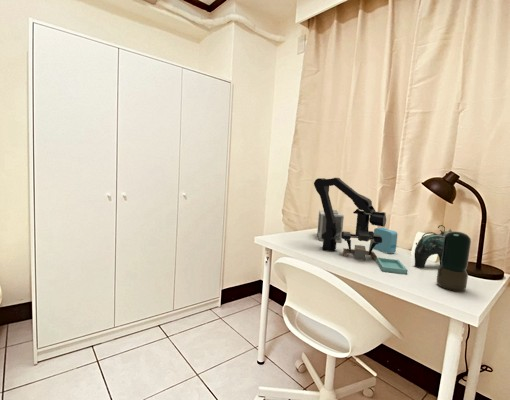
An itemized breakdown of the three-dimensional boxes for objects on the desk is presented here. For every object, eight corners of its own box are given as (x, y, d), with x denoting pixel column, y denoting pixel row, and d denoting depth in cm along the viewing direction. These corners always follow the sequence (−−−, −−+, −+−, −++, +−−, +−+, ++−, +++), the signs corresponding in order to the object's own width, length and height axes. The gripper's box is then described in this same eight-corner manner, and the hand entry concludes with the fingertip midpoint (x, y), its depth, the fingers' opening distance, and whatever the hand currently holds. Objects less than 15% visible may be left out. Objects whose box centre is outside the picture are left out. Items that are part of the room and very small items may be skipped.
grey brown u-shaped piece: (344, 256, 142) (344, 253, 142) (343, 251, 150) (343, 248, 150) (376, 260, 139) (376, 256, 138) (373, 255, 147) (373, 251, 147)
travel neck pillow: (445, 264, 139) (450, 224, 137) (457, 268, 133) (463, 227, 130) (410, 265, 135) (415, 223, 132) (421, 270, 128) (426, 226, 126)
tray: (382, 271, 124) (382, 267, 123) (375, 261, 137) (376, 257, 137) (407, 274, 122) (407, 270, 121) (398, 263, 135) (398, 259, 135)
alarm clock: (316, 234, 188) (319, 207, 186) (337, 236, 187) (339, 208, 185) (319, 241, 170) (321, 211, 168) (341, 243, 169) (344, 213, 166)
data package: (395, 253, 152) (398, 232, 151) (389, 254, 151) (392, 232, 149) (377, 247, 163) (380, 227, 162) (372, 248, 161) (374, 227, 160)
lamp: (455, 294, 104) (463, 235, 101) (430, 283, 112) (437, 229, 110) (471, 290, 108) (479, 234, 105) (446, 281, 116) (453, 228, 114)
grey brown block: (354, 259, 140) (355, 248, 139) (353, 254, 148) (354, 244, 148) (364, 260, 138) (365, 250, 138) (364, 255, 147) (365, 245, 146)
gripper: (344, 224, 135) (341, 256, 137) (386, 228, 132) (382, 260, 133) (342, 220, 146) (340, 249, 148) (381, 223, 142) (378, 254, 144)
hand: (359, 253), depth 143 cm, fingers open, 9 cm apart
